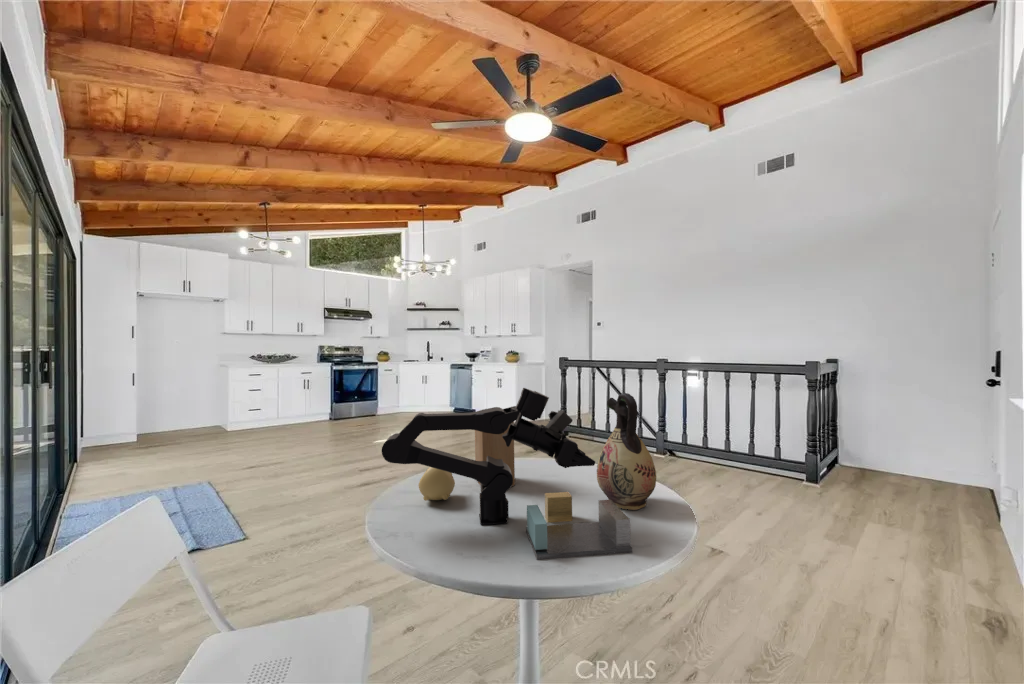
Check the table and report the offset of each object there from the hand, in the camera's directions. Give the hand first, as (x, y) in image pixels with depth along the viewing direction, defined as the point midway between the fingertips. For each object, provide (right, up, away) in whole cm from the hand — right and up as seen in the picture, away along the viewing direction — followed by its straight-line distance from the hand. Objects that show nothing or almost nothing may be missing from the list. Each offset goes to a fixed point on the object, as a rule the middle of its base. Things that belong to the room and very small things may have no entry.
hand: (589, 459), depth 117 cm
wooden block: (-25, -14, +27) cm, 39 cm away
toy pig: (-40, -15, +13) cm, 45 cm away
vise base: (-5, -14, -15) cm, 21 cm away
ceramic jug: (+11, -14, +6) cm, 19 cm away
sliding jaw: (-14, -13, -16) cm, 25 cm away
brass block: (-8, -14, -2) cm, 16 cm away
